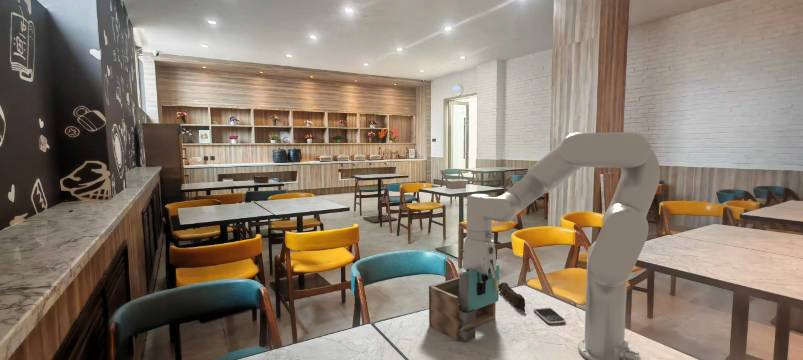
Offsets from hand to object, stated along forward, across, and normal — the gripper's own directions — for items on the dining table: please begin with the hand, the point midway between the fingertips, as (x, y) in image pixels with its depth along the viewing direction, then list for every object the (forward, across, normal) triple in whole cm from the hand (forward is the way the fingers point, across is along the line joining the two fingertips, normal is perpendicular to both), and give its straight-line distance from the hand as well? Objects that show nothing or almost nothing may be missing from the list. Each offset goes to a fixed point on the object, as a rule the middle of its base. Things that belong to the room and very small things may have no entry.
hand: (477, 292), depth 120 cm
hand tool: (+12, +6, -27) cm, 30 cm away
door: (+5, 0, 0) cm, 5 cm away
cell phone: (+12, -9, -25) cm, 29 cm away
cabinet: (+12, +4, 0) cm, 12 cm away
